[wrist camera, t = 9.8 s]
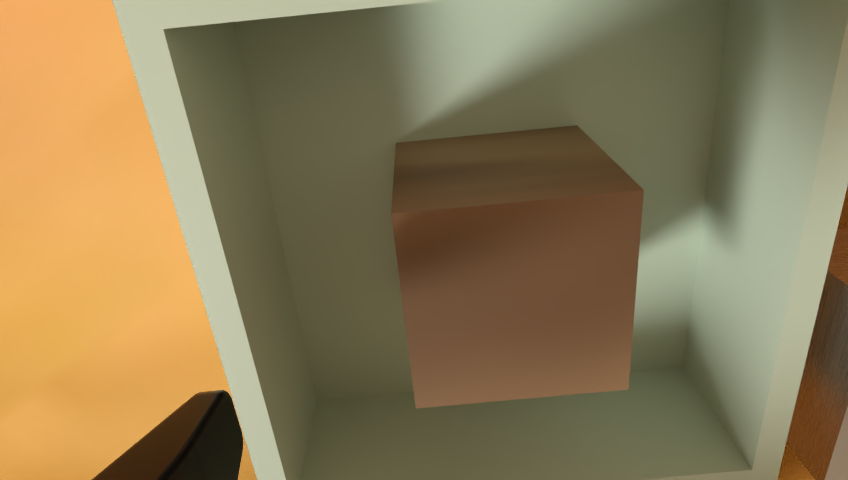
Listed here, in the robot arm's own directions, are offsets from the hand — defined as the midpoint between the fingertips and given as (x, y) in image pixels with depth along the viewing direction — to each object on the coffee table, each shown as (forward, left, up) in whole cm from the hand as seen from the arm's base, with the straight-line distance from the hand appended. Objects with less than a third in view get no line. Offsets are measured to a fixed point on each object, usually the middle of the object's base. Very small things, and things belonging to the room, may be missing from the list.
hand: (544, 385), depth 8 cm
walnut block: (0, 0, -6) cm, 6 cm away
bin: (0, 0, -6) cm, 6 cm away
